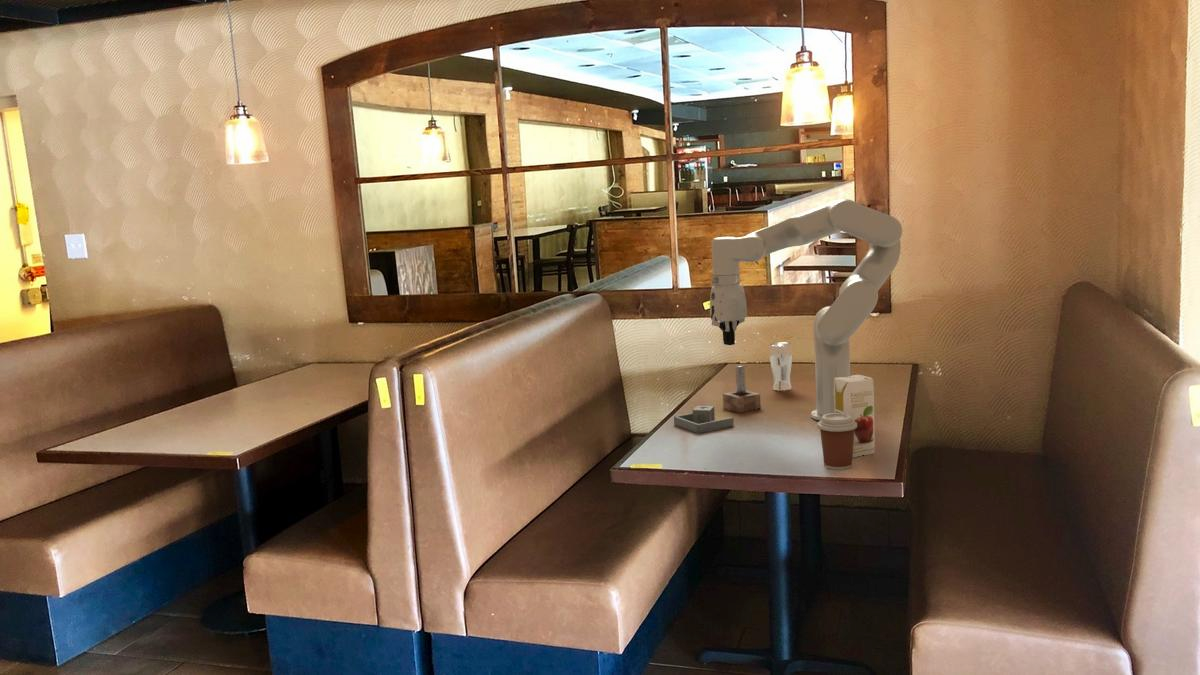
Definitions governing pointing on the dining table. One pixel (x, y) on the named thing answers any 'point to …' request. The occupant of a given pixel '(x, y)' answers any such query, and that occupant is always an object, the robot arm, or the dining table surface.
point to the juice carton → (857, 409)
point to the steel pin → (740, 380)
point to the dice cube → (703, 414)
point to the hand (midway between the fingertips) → (729, 344)
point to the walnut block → (741, 401)
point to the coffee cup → (837, 440)
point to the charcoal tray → (688, 423)
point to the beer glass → (781, 365)
